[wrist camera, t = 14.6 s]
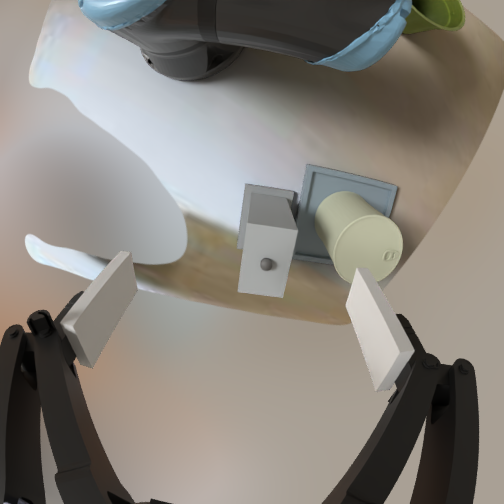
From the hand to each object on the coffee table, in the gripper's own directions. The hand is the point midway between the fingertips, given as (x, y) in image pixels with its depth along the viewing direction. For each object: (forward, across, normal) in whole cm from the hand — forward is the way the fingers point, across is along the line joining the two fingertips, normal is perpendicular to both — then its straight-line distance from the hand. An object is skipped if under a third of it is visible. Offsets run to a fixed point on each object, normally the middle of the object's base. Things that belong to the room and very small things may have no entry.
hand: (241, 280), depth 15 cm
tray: (+26, +14, -5) cm, 30 cm away
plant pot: (+27, +21, +32) cm, 47 cm away
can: (+26, +14, -5) cm, 29 cm away
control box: (+26, +2, -6) cm, 26 cm away
